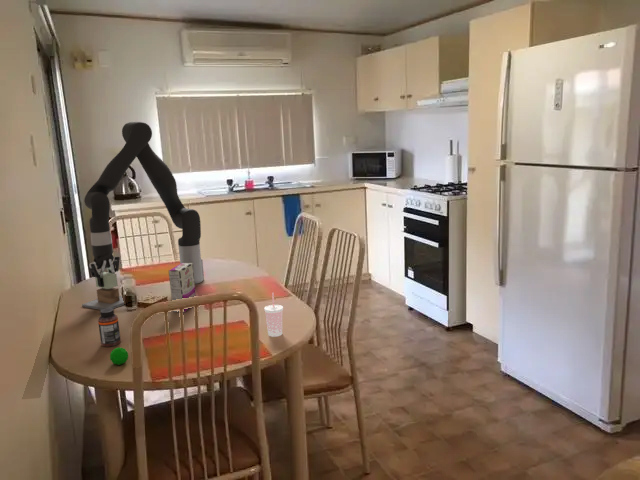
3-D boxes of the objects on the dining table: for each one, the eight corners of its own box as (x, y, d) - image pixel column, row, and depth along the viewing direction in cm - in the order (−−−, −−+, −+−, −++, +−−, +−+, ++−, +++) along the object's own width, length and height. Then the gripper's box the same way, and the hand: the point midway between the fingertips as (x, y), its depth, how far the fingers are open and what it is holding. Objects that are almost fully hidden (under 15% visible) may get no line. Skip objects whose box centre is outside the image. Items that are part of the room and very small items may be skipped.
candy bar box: (185, 303, 209) (181, 262, 206) (197, 303, 208) (193, 262, 205) (171, 312, 199) (167, 270, 195) (184, 313, 198) (180, 270, 194)
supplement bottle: (104, 340, 173) (100, 307, 171) (123, 339, 174) (119, 306, 171) (98, 348, 167) (94, 313, 165) (117, 346, 168) (113, 312, 166)
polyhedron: (115, 360, 158) (114, 345, 157) (131, 360, 157) (130, 344, 156) (107, 367, 153) (105, 351, 152) (124, 367, 152) (122, 351, 151)
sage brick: (105, 284, 215) (104, 272, 214) (117, 285, 211) (116, 273, 210) (96, 287, 211) (94, 274, 210) (108, 288, 208) (106, 276, 207)
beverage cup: (282, 337, 170) (279, 295, 167) (263, 337, 171) (260, 295, 168) (286, 330, 176) (284, 290, 173) (268, 330, 177) (266, 289, 174)
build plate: (110, 296, 222) (110, 294, 222) (135, 300, 215) (135, 298, 215) (82, 306, 210) (82, 304, 210) (107, 311, 203) (107, 308, 203)
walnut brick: (107, 298, 216) (105, 286, 215) (119, 300, 213) (118, 288, 212) (98, 301, 212) (96, 289, 211) (110, 303, 209) (109, 291, 208)
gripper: (93, 247, 200) (98, 290, 203) (123, 239, 212) (127, 281, 216) (79, 245, 203) (85, 289, 207) (109, 238, 216) (114, 279, 219)
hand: (106, 284), depth 211 cm, fingers closed on sage brick, 4 cm apart
